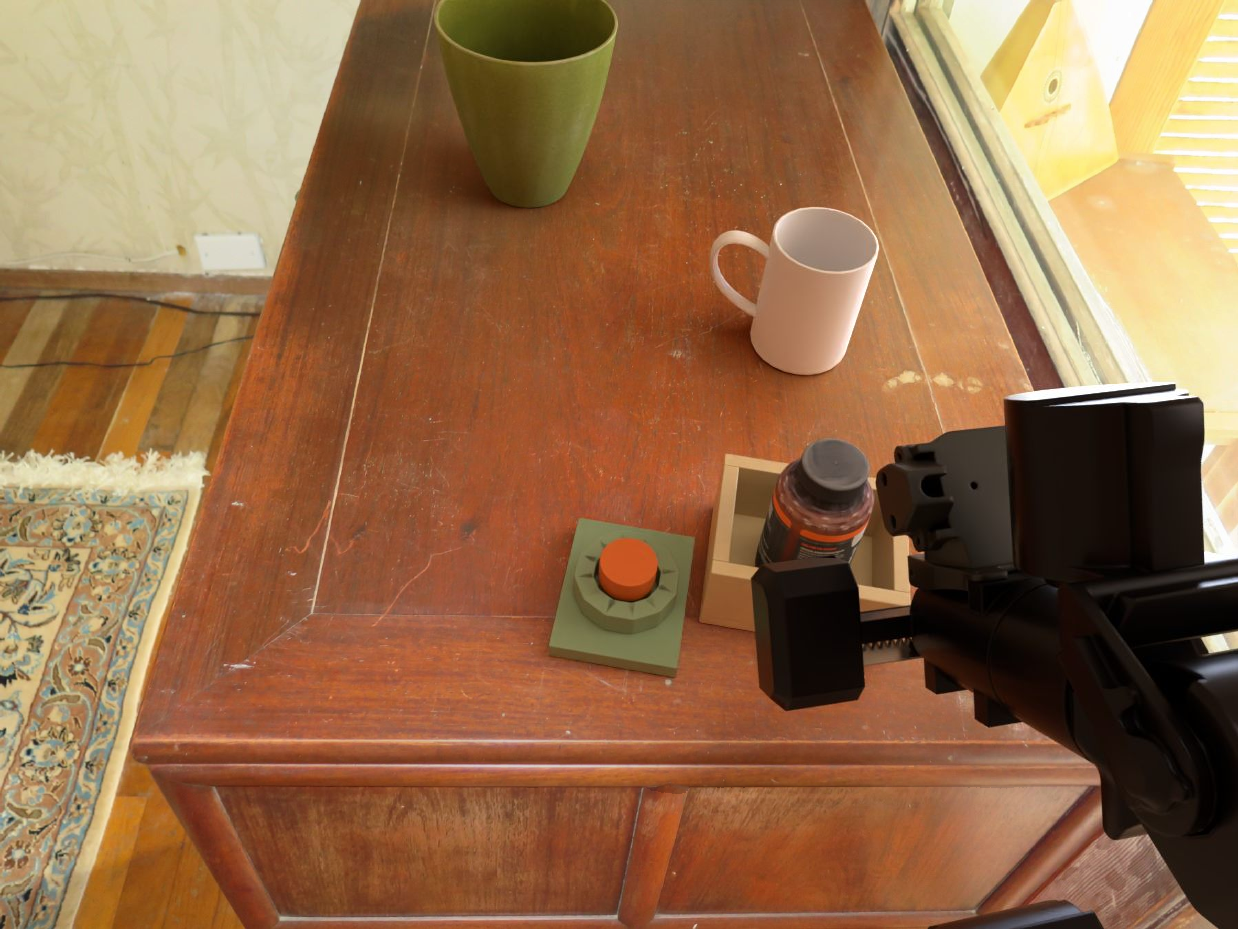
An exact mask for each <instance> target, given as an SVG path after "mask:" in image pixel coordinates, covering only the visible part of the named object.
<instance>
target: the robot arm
mask: <svg viewBox="0 0 1238 929" xmlns="http://www.w3.org/2000/svg"><path fill="white" fill-rule="evenodd" d="M1202 400H1203V399H1201V398H1200V397H1199V396H1194V395H1190V391H1189V390H1187V389H1184V388H1183V389H1181V388H1177V384H1176V382H1138V383H1135V382H1134V383H1117V384H1115V383H1113V384H1098V385H1097V384H1096V385H1084V386H1073V387H1062V388H1052V389H1041V390H1035V391H1027V392H1020V393H1015V394H1010V395H1006V396H1004V397H1003V398H1002V401H1003V416H1004V417H1003V418H1004V425H994V426H993V425H992V426H984V427H977V428H976V427H975V428H967V429H958V430H957V429H956V430H950V431H946V432H943V433H942V434H940V435H939V436H937V437H936V438H934V439H932V440H931V441H929V442H921V443H912V444H911V443H910V444H902V445H897V446H896V447H895V448H894V450H893V459H894V462H891V463H888V464H886V465H884V466H883V467H881V468H880V469H879V470H877V473H876V476H875V478H876V482H875V484H876V489H877V494H878V499H879V503H880V508H881V513H882V518H883V522H884V527H885V529H886V530H887V532H888V533H889V534H890V535H891V536H893V537H895V536H903V535H906V536H908V537H909V539H910V540H911V542H912V545H913V547H914V549H915V551H916V552H917V553H916V554H909V555H908V556H907V558H908V575H909V583H910V586H911V587H914V588H916V590H915V591H914V593H913V596H912V599H911V605H905V606H898V607H891V608H884V609H876V610H869V611H862V612H860V600H859V587H858V585H857V582H856V580H855V577H854V575H853V572H852V570H851V567H850V565H849V563H848V562H846V561H844V560H841V559H839V558H835V555H829V556H821V557H813V558H805V559H798V560H790V561H784V562H776V563H768V564H762V565H761V566H760V567H759V568H758V570H757V571H756V572H755V573H754V575H753V576H752V577H751V587H752V601H753V614H754V627H755V632H754V638H755V651H756V664H757V665H756V667H757V677H758V688H759V689H760V691H762V692H763V693H764V695H766V696H767V697H768V698H769V699H770V700H771V701H772V702H774V703H775V704H776V705H777V706H778V707H780V708H781V709H782V710H783V711H785V712H790V711H798V710H803V709H811V708H817V707H823V706H829V705H837V704H842V703H850V702H856V701H859V699H860V697H861V696H862V693H863V691H864V690H865V688H866V680H865V678H866V677H865V667H871V666H878V665H879V666H880V665H886V664H892V663H897V662H904V661H912V660H919V659H923V670H924V672H923V673H924V687H925V689H927V690H929V691H930V692H931V693H932V694H935V695H937V696H938V695H943V694H950V693H957V692H963V691H969V692H970V693H972V694H973V712H974V713H973V714H974V720H975V721H977V722H978V723H979V724H981V725H983V726H985V727H987V728H995V727H1003V726H1009V725H1014V724H1015V725H1016V724H1020V723H1024V724H1025V725H1027V726H1029V727H1030V728H1031V729H1033V730H1035V731H1037V732H1038V733H1040V734H1042V735H1043V736H1045V737H1047V738H1048V739H1050V740H1051V741H1053V742H1055V743H1056V744H1058V745H1060V746H1062V747H1063V748H1066V750H1068V751H1070V752H1072V753H1074V754H1076V755H1077V756H1079V757H1081V758H1082V759H1084V760H1086V761H1087V762H1089V763H1090V764H1092V765H1094V766H1095V768H1096V769H1097V772H1098V775H1099V780H1100V781H1099V782H1100V801H1101V803H1100V804H1101V820H1102V821H1101V822H1102V823H1101V824H1102V829H1103V832H1104V833H1105V835H1106V836H1107V837H1108V839H1110V840H1112V841H1122V840H1126V839H1131V838H1137V837H1141V836H1148V837H1149V839H1150V841H1151V842H1152V844H1153V846H1154V847H1155V849H1156V850H1157V852H1158V854H1159V855H1160V857H1161V858H1162V860H1163V862H1164V863H1165V865H1166V867H1167V868H1168V870H1169V871H1170V873H1171V874H1172V876H1173V878H1174V879H1175V881H1176V884H1178V886H1179V888H1180V889H1181V891H1182V892H1183V894H1184V896H1185V897H1186V899H1187V901H1188V902H1189V903H1190V905H1191V906H1192V908H1193V909H1194V910H1195V911H1196V912H1197V913H1198V914H1199V915H1200V916H1201V917H1203V919H1205V920H1206V921H1208V922H1209V923H1210V924H1211V925H1213V927H1215V928H1216V929H1238V647H1237V648H1231V649H1226V650H1220V651H1215V652H1209V650H1208V648H1207V645H1206V644H1205V643H1204V641H1203V639H1202V638H1208V637H1213V636H1219V635H1225V634H1231V633H1236V632H1238V556H1228V555H1224V554H1220V553H1215V552H1211V551H1206V550H1205V534H1204V511H1203V510H1204V508H1203V507H1204V506H1203V484H1202V483H1203V482H1202V459H1203V454H1204V447H1205V440H1206V439H1205V437H1206V436H1205V434H1206V432H1205V404H1204V402H1203V401H1202ZM886 641H888V645H887V642H886ZM878 642H880V645H879V644H878ZM869 643H872V645H871V646H870V644H869ZM862 644H864V645H863V646H862ZM927 929H1105V927H1104V925H1103V924H1102V923H1101V921H1100V919H1099V917H1098V916H1097V913H1096V912H1095V911H1094V910H1093V909H1091V910H1086V911H1082V910H1081V909H1080V908H1079V907H1078V906H1077V905H1075V904H1073V903H1072V902H1070V901H1068V900H1066V899H1060V900H1057V899H1049V900H1048V899H1047V900H1044V901H1039V902H1034V903H1029V904H1024V905H1021V906H1016V907H1015V906H1014V907H1011V908H1007V909H1001V910H997V911H992V912H989V913H988V912H987V913H983V914H979V915H975V916H970V917H966V918H961V919H956V920H952V921H947V922H943V923H937V924H934V925H929V926H928V927H927Z"/></svg>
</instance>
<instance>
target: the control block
mask: <svg viewBox="0 0 1238 929" xmlns="http://www.w3.org/2000/svg"><path fill="white" fill-rule="evenodd" d="M622 538H632V539H637V540H640V541H642V542H644V543H646V544H647V545H648V546H650V547H651V548H652V550H653V551H654V553H655V554H656V557H657V561H658V567H657V573H656V579H655V584H654V586H653V588H652V590H651V591H650V592H649V593H648V594H647V595H646V596H645V597H643V598H641V599H638V600H635V601H622V600H618V599H615V598H613V597H611V596H610V595H608V594H607V593H606V592H605V591H604V590H603V588H602V587H601V585H600V582H599V576H598V574H599V563H600V556H601V553H602V551H603V550H604V548H605V547H606V546H607V545H608V544H610V543H611V542H613V541H615V540H618V539H622ZM572 539H573V540H572V544H571V548H570V552H569V556H568V560H567V566H566V570H565V573H564V578H563V582H562V586H561V591H560V594H559V598H558V599H559V600H558V603H557V607H556V612H555V616H554V620H553V625H552V629H551V633H550V638H549V641H548V650H547V653H548V656H552V657H558V658H563V659H568V660H573V661H574V660H575V661H580V662H584V663H585V662H586V663H590V664H596V665H603V666H608V667H613V668H619V669H625V670H630V671H637V672H641V673H647V674H654V675H658V676H664V677H671V678H676V675H677V672H678V666H679V659H680V652H681V644H682V638H683V637H682V636H683V631H684V622H685V616H686V609H687V603H688V602H687V601H688V594H689V586H690V580H691V572H692V564H693V556H694V550H695V545H696V544H695V543H696V537H695V536H689V535H683V534H679V533H672V532H667V531H660V530H655V529H649V528H642V527H636V526H631V525H624V524H618V523H613V522H606V521H601V520H596V519H589V518H583V517H578V519H577V523H576V527H575V530H574V535H573V538H572Z"/></svg>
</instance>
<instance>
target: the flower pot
mask: <svg viewBox="0 0 1238 929" xmlns="http://www.w3.org/2000/svg"><path fill="white" fill-rule="evenodd" d="M433 12H434V13H433V22H434V27H435V32H436V37H437V41H438V46H439V52H440V55H441V60H442V62H443V63H442V64H443V67H444V68H443V69H444V72H445V75H446V79H447V82H448V88H449V90H450V93H451V96H452V100H453V104H454V107H455V110H456V113H457V115H458V118H459V122H460V124H461V127H462V130H463V132H464V135H465V137H466V141H467V142H468V145H469V147H470V150H471V152H472V155H473V157H474V159H475V162H476V164H477V166H478V168H479V170H480V172H481V175H482V177H483V179H484V181H485V183H486V185H487V187H488V189H489V191H490V193H491V194H492V196H494V197H495V198H496V199H497V200H498V201H501V202H502V203H505V204H507V205H510V206H513V207H518V208H524V209H525V208H527V209H528V208H529V209H530V208H531V209H532V208H533V209H534V208H540V207H545V206H548V205H552V204H554V203H556V202H557V201H559V200H561V199H562V198H563V197H564V195H565V194H566V192H567V191H568V189H569V187H570V185H571V183H572V181H573V179H574V176H575V174H576V171H577V169H578V167H579V165H580V162H581V160H582V158H583V156H584V154H585V151H586V149H587V145H588V143H589V140H590V137H591V135H592V132H593V129H594V126H595V123H596V120H597V117H598V113H599V110H600V107H601V104H602V99H603V96H604V92H605V88H606V85H607V80H608V76H609V71H610V67H611V62H612V58H613V53H614V48H615V42H616V37H617V31H618V28H619V21H618V17H617V15H616V12H615V10H614V9H613V7H612V6H611V4H609V3H608V2H607V1H606V0H439V2H438V4H437V5H436V7H435V9H434V11H433Z"/></svg>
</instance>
